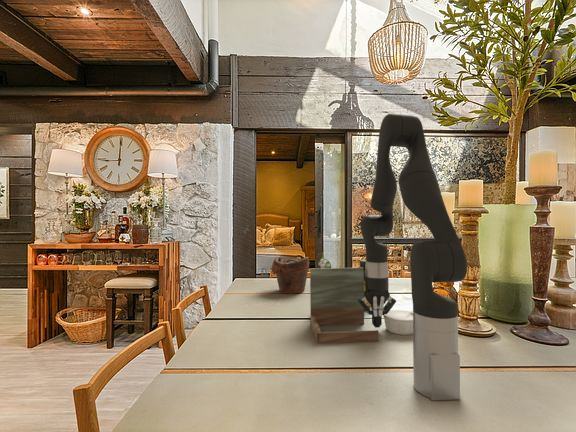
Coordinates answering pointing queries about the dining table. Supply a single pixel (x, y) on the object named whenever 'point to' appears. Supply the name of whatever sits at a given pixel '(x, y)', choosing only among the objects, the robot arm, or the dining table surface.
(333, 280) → the cold frame
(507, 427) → the dining table surface
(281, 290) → the brown flower pot
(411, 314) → the ramekin
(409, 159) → the robot arm
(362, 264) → the sauce bottle
